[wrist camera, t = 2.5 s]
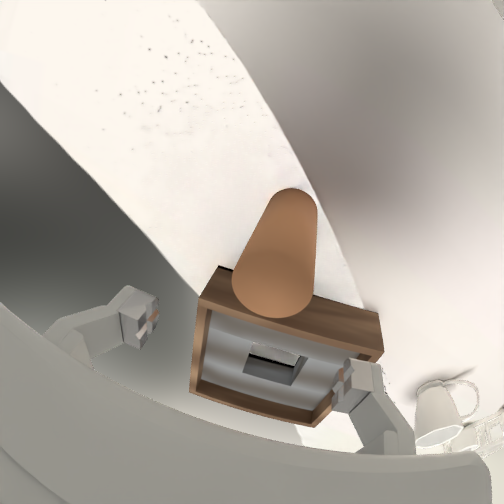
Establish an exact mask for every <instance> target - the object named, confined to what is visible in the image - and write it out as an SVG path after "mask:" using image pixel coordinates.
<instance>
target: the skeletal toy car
mask: <svg viewBox="0 0 504 504" xmlns="http://www.w3.org/2000/svg"><path fill="white" fill-rule="evenodd" d="M499 415H500V416H499ZM498 416H499V417H498ZM496 417H498V418H496ZM494 418H496V419H494ZM492 419H494V420H492ZM490 420H492V421H490ZM488 421H490V422H488ZM483 423H484V425H482V426H480V427H479V431H478V432H476V429H475V428H474V427H476V426H478V425H481V424H483ZM499 423H500V425H501V430H502V434H503V435H504V408H502V409H501V410H499V411H497V412H496V413H494V414H492V415H490V416H487V417H485V418H483V419H481V420H478V421H476V422H474V423H472V424H470V425H468V426H466V427H464V428H463V429H462V431H461V432H460V433H459V435H458V436H457V437H455V438H453V439H451V440H449V441H447V442H446V443H444V444H443V446H444V453H448V450H447V447H450V446H451V450H452V453H453V452H462V451H475V452H476V453H477V454H478V453H480V452H482V454H481V455H479V456H480V457H481V459H483V458H485V457H487V456H489V455H491V454H493V453H495V452H496V451H498V450H499V449H501V448H502V447H504V436H503V437H501V438H499V439H497V440H495V441H492V440H491V435H490V429H492V428H493V427H494V426H496V425H497V424H499ZM485 432H486V434H487V440H488V444H487V443H486V437H485ZM477 436H479V438H480V444H481V447H479V448H477V447H478V446H479V445H478V439H477ZM476 448H477V449H476Z"/></svg>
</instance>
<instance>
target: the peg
mask: <svg viewBox="0 0 504 504" xmlns="http://www.w3.org/2000/svg"><path fill="white" fill-rule="evenodd" d="M316 239H317V207H316V204H315V202H314V200H313V199H312V197H311V196H310V195H309V194H307V193H306V192H304V191H302V190H300V189H295V188H287V189H283V190H281V191H279V192H277V193H276V194H274V196H273V197H272V198H271V199H270V201H269V203H268V205H267V207H266V209H265V211H264V213H263V214H262V216H261V218H260V220H259V222H258V224H257V226H256V228H255V230H254V232H253V234H252V235H251V237H250V239H249V241H248V243H247V245H246V247H245V249H244V251H243V253H242V255H241V257H240V258H239V260H238V262H237V264H236V266H235V268H234V270H233V273H232V287H233V290H234V293H235V295H236V297H237V298H238V300H239V301H240V302H241V303H242V304H243V305H244V306H245V307H246V308H248V309H249V310H251V311H252V312H254V313H256V314H259V315H261V316H265V317H270V318H284V317H289V316H292V315H295V314H297V313H298V312H300V311H301V310H303V309H304V308H305V307H306V306H307V305H308V303H309V302H310V300H311V298H312V295H313V289H314V275H315V259H316Z"/></svg>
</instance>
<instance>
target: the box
mask: <svg viewBox="0 0 504 504" xmlns="http://www.w3.org/2000/svg"><path fill="white" fill-rule="evenodd" d="M232 273H233V270H232V269H229V268H226V267H223V266H220V265H218V267H217V269H216V270H215V272H214V274H213V275H212V277H211V279H210V280H209V282H208V283H207V285H206V287H205V288H204V290H203V292H202V293H201V295H200V297H199V300H198V308H197V317H196V327H195V334H194V344H193V354H192V364H191V376H190V387H189V392H190V393H193V394H195V395H198V396H201V397H203V398H206V399H209V400H212V401H215V402H218V403H221V404H224V405H227V406H230V407H233V408H237V409H240V410H243V411H246V412H250V413H253V414H257V415H261V416H264V417H268V418H273V419H277V420H281V421H285V422H289V423H294V424H298V425H303V426H308V427H313V428H315V427H316V426H317V425H318V424H319V423H320V422H321V421H322V420H323V419H324V418H325V417H326V416H327V415H328V414H329V413H330V412H331V411H332V410H331V406H332V397H333V396H334V394H335V393H334V391H333V390H332V384H333V379H334V377H335V374H336V373H337V371H338V370H339V369H340V368H343V363H344V361H345V360H346V359H347V358H353V359H358V360H362V361H367V362H372V363H376V362H377V361H378V359H379V358H380V357H381V356H382V354H383V353H384V345H383V339H382V333H381V327H380V321H379V316H378V313H374V312H371V311H367V310H364V309H360V308H357V307H353V306H350V305H347V304H343V303H340V302H336V301H333V300H330V299H326V298H323V297H319V296H316V295H312V298H311V300H310V302H309V303H308V305H307V306H306V307H305V308H304V309H303V310H301V311H300V312H298V313H297V314H295V315H292V316H289V317H284V318H270V317H265V316H261V315H259V314H256V313H254V312H252V311H251V310H249V309H248V308H246V307H245V306H244V305H243V304H242V303H241V302H240V301H239V300H238V298H237V297H236V295H235V293H234V290H233V287H232ZM253 342H256V343H259V344H262V345H265V346H269V347H272V348H276V349H279V350H282V351H286V352H290V353H293V354H297V355H300V357H299V358H298V360H297V362H296V364H295V365H294V366H292V365H288V364H285V363H281V362H278V361H274V360H271V359H267V358H264V357H261V356H257V355H254V354H251V353H249V352H250V349H251V346H252V344H253Z"/></svg>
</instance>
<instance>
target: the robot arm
mask: <svg viewBox="0 0 504 504" xmlns="http://www.w3.org/2000/svg"><path fill="white" fill-rule="evenodd" d="M492 2H493V3H494V5H495V7H496V9H497V10H498V12H499V14H500V15H501V17H502V18H503V20H504V0H492ZM158 305H159V299H158V298H157V297H155V296H152V295H150V294H148V293H145V292H143V291H141V290H138V289H136V288H133V287H131V286H129V285H127V286H125V287H124V288H123V289H122V290H121V291H120V292H119V293H118V294H117V295H116V296H115V297H114V298H113V300H112V301H111V302H110V303H109V304H108V305H107V306H104V305H102V306H99V307H96V308H92V309H89V310H86V311H83V312H79V313H76V314H72V315H69V316H66V317H63V318H59V319H58V320H57V321H56V322H55V323H54V324H53V325H52V326H51V327H50V328H49V329H48V330H47V331H46V332H45V333H44V334H43V335H42V336H41V335H40V334H39V333H37V332H36V331H34V330H33V329H32V328H31V327H29V326H28V325H27V324H26V323H24V322H23V321H22V320H21V319H19V318H18V317H17V316H16V315H15V314H13V313H12V312H11V311H10V310H9V309H7V308H6V307H5V306H4V305H3V304H2V303H1V302H0V504H492V490H491V489H492V487H491V476H490V472H489V469H488V467H487V466H486V464H485V463H484V461H483V460H482V459H481V457H480V456H479V455H478V454H477V453H476V452H475V451H462V452H453V453H442V454H427V455H416V446H415V436H414V431H413V429H412V428H411V427H410V425H409V424H408V422H407V421H406V420H405V418H404V417H403V415H402V414H401V413H400V411H399V410H398V409H397V407H396V406H395V404H394V403H393V402H392V400H391V399H390V398H389V396H388V395H386V394H384V385H383V377H382V370H381V365H380V364H377V363H372V362H367V361H362V360H358V359H353V358H347V359H346V360H345V361H344V363H343V368H340V369H339V370H338V371H337V373H336V374H335V377H334V379H333V384H332V390H333V391H334V393H335V394H334V396H333V397H332V406H331V410H332V411H337V412H342V413H348V414H349V417H350V419H351V421H352V423H353V425H354V427H355V429H356V431H357V433H358V435H359V437H360V439H361V441H362V443H363V446H364V447H363V448H361V449H360V450H358V451H357V452H356V453H349V452H339V451H331V450H323V449H317V448H310V447H304V446H299V445H294V444H289V443H284V442H279V441H274V440H270V439H266V438H262V437H258V436H254V435H250V434H246V433H242V432H239V431H236V430H233V429H229V428H226V427H223V426H220V425H216V424H213V423H210V422H207V421H204V420H202V419H199V418H196V417H193V416H191V415H188V414H185V413H183V412H180V411H178V410H175V409H173V408H170V407H168V406H166V405H163V404H161V403H158V402H156V401H154V400H152V399H149V398H147V397H145V396H143V395H141V394H139V393H137V392H135V391H132V390H131V389H128V388H127V387H125V386H122V385H120V384H119V383H117V382H115V381H113V380H111V379H109V378H108V377H106V376H104V375H102V374H100V373H99V372H97V371H95V370H94V367H93V365H92V362H91V359H92V358H94V357H96V356H99V355H101V354H103V353H105V352H107V351H109V350H111V349H113V348H115V347H117V346H119V345H121V344H123V342H124V343H126V344H128V345H131V346H133V347H135V348H138V349H141V348H142V347H143V345H144V344H145V342H146V341H147V334H149V333H152V332H153V330H154V329H155V327H156V325H157V323H158V319H159V312H158V310H157V309H156V308H157V307H158Z"/></svg>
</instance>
